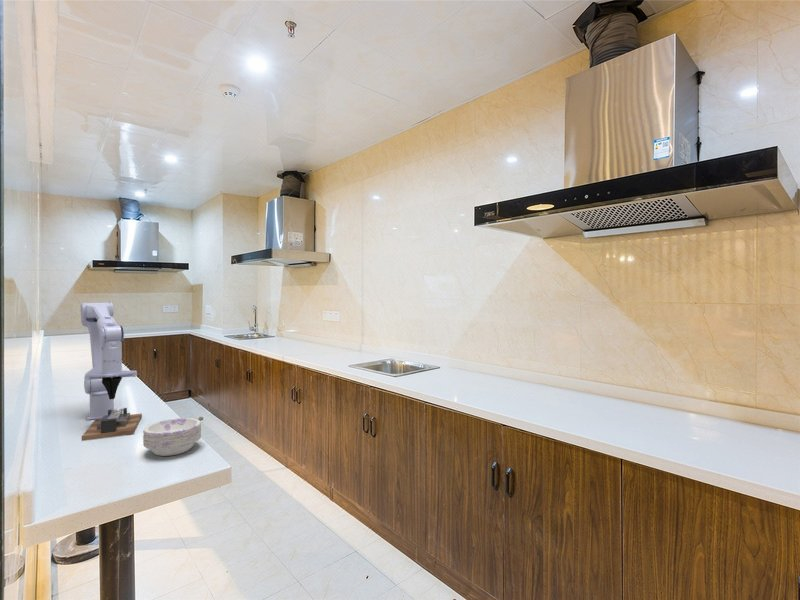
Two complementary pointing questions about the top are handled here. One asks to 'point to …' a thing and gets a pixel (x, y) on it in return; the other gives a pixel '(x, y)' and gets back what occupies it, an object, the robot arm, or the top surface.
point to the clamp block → (113, 422)
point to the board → (121, 431)
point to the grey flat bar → (115, 414)
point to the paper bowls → (172, 436)
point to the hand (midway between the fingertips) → (112, 398)
